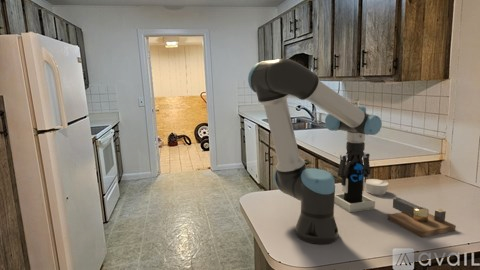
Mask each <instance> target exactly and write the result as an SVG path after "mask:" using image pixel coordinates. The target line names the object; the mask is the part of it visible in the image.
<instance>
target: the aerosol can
mask: <svg viewBox="0 0 480 270" xmlns="http://www.w3.org/2000/svg"><path fill="white" fill-rule="evenodd" d="M363 165H364V164H363ZM363 165H362V164H361V163H359V162H354V163H353V165H351V166H350V167H349V173H348V176H347V179H348V193H345V192H343V193H344V198H343V199H344V200H345V201H347V202H349V203H358V202H362V201H363V200H362V195H363V194H364V193H363V192H364V191H363V174H364V168H365V167H364V166H363Z"/></svg>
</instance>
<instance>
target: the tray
mask: <svg viewBox="0 0 480 270" xmlns="http://www.w3.org/2000/svg"><path fill="white" fill-rule="evenodd" d="M343 198H344V192H342V193H335V198H334V205H337V206H339V207H340V208H341V209H343V210H345V211H346V212H348V213H350V214H351V213H356V212H362V211H368V210H375V209H376V208H375V207H376V200H374V199H372V198H370V197H368V196H365V195H364V194H362V200H363V201H362V202H358V203H349V202H347V201H345V200H344V199H343Z"/></svg>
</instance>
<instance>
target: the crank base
mask: <svg viewBox="0 0 480 270" xmlns="http://www.w3.org/2000/svg"><path fill="white" fill-rule="evenodd" d="M446 213H447V211H446V210H445V209H443V208H439V209H435V210H434V214H433V215H432V214H431V213H429V216H428V221H427V222H421V221H417V220H415V219H414V218H413V217H411V216H409V215H407V214H405V213H403V212H401V211H399V212H395V213H389V214H387V220H389V221H391V222H392V223H394V224H397V225H398V226H400V227H402V228H404V229H406V230H407V231H409V232H411V233H412V234H415V235H416V236H418V237H420V238H425V237H430V236H435V235H439V234H441V235H442V234H446V233H451V232H454V231H455V232H456V230H457V229H456V227H457V226H456V224H453V223H451V222H449V221H447V220H446Z"/></svg>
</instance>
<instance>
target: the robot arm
mask: <svg viewBox="0 0 480 270" xmlns="http://www.w3.org/2000/svg"><path fill="white" fill-rule="evenodd" d="M247 83H248V86H249V87H250V90H252V91H253V92H254V93H256V96H257V99H258V102H259V103H260V104H262V105H263V106H264V111H265V115H266V119H267V123H268V127H269V131H270V134H271V135H270V136H271V139H272V143H273V146H274V151H275V155H276V158H277V164H276V165H275V169H274V170H275V171H274V173H273V181H274V185H275V186H276V188H277V189H278V190H279V191H280V192H282V193H283V194H286V195H287V196H290V197H291V198H294V199H296V200H298V201H300V213H299V216H298V219H297V222H296V226H295V235H296V236H297V238H299V239H301V240H302V241H304V242H306V243H310V244H314V245H315V244H316V245H326V244H332V243H334V242H336V241H337V240H338V238H339V228H338V226H337V222H336V219H335V216H334V214H335V203H334V198H335V194H336V184H335V183H336V182H335V177H334V175H333V174H332V173H330V172H329V171H327V170H325V169H322V168H321V169H318V168H316V167H315V168H314V167H313V168H312V167H311V168H307V165H306V161H305V159H304V158H301V156H300V153H299V147H298V145H297V139H296V135H295V130H294V126H293V121H292V117H291V114H290V113H291V112H290V110H289V105H288V100H287V99H288V98H289V96H293V97H295V98H297V99H298V100H301V101H305V100H307V102H310V103H311V104H313V105H314V106H316V107H317V108H319V109H320V110H323V111H324V112H326V113H327V115H326V116H325V117H324V118H325V119H324V125H325V128H326V129H327V130H328V131H335V132H336V131H341V132H342V131H344V132H346V144H345V145H346V147H345V148H346V154H340V156H339V158H340V162H339V165H338V172H337V177H338V178H340V179H341V186H342V190H341V191H342V193H344V192H345V193H348V179H347V176H348V173H349V167H350V166H351V165H353V163H354V162H359V163H361V164H362V165H363V166H364V167H365V168H364V174H363V192H365V183H366V180H367V177H369V175H371V167H370V153H368V152H364V151H365V145H366V143H365V142H366V136H368V135H370V136H375V135H378V133H379V132H380V131H381V129H382V120H381V118H380V117H379V115H375V114H372V113H371V114H369V113H367V108H366V107H365V106H363V105H361V106H360V105H355V104H353V103H352V102H350V101H349V100H348V99H346V98H345V97H344V96H342V95H341V94H339V93H338V92H336V91H335V90H334V89H332V88H331V87H329V86H328V85H326V84H325V83H323V82H322V81H321V80H320V77H319V75H317V74H316V73H315V72H313V71H312V70H311V69H309V68H307V67H306V66H304V65H302V64H300V63H299V62H298V61H297V62H296V61H295V60H293V59H288V58H278V59H277V58H276V59H269V60H263V61H260V62H257V63H255V64H254V65H253V66H252V67H251V69H250V71H249V73H248V77H247Z"/></svg>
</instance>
